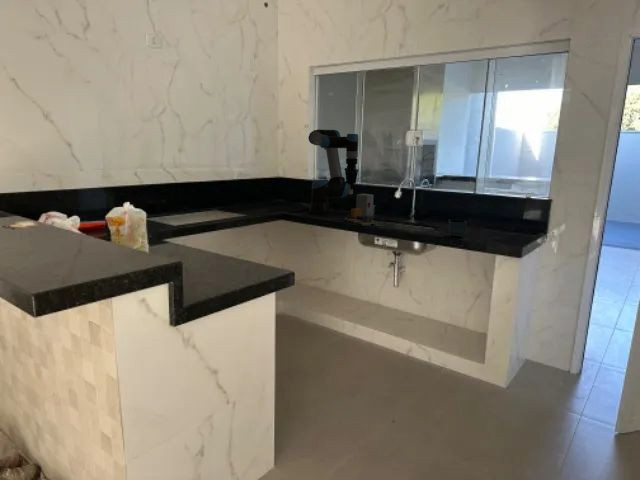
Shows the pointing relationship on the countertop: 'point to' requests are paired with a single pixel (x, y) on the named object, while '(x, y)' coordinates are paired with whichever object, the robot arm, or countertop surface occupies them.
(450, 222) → the flower pot
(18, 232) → the countertop surface
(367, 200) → the supplement box
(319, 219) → the countertop surface
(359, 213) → the sleeve
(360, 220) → the cord board
